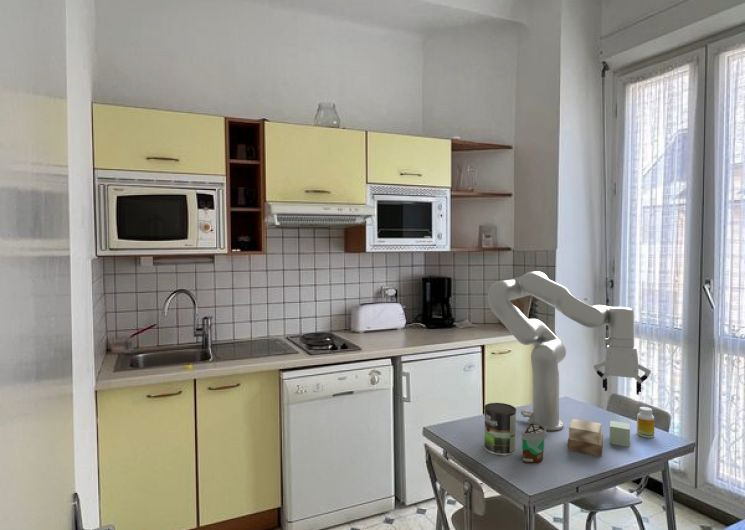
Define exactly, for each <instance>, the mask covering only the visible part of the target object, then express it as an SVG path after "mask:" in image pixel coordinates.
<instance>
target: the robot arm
mask: <svg viewBox="0 0 745 530" xmlns="http://www.w3.org/2000/svg"><path fill="white" fill-rule="evenodd" d="M528 296H529V297H530V296H532V297H533V298H535V299H538V300H540V301H542V302H544V303H546V304H547V305H549V306H551V307H553V308H555V309H556V310H557V311H558V312H560V313H561V314H562V315H563V316H565V317H566V318H569V319H571V320H572V321H573V322H576V323H578V324H580V325H582V326H584V327H586V328H589V329H594V330H595V329H599V328H601V327H604V326H608V338H606V337H605V338H604V343H607V344H608V345H606V349H605V353H604V354H605V355H604V360H603V361H602V362H599V363H596V364H594V365H593V369H594V371H595V372H596V374H597V375H598V376H599V377H600V378H601V379H602V388H603V389H604V392H607V391H608V377H609V376H612V377H621V378H629V379H631V378H632V379H634V380H636V383H635V384H636V388H635V390H636V392H635V393H636V395H637V396H640V393H641V392H642V383H643V382H644V381H646V380H647V379H648V377H649V376H650V375H651V373H652V371H651V370H650V369H649V368H647V367H645V366H643V365H641V364H639V356H638V355H639V354H638V350H637V347H636V346H635V344H634V343H635V335H634V330H635V329H634V328H635V325H634V321H635V320H634V317H635V316H634V310H633V309H632V308H631V307H627V306H608V305H603V304H595V305H590V304H588V303H586V302H584V301H583V300H580V299H578V298H577V297H575V296H574V295H573V294H571V293H570V290H569V289H568V288H567V287H566V286H564V285H562V284H560V283H557V282H555V281H554V280H551V279H549V277H548V276H547V275H546V274H545V273H544V272H542V271H538V270H537V271H536V270H535V271H529V272H525V273H524V274H523V275H521V276H517V277H513V278H510V279H509V278H508V279H501V280H498V281H496V282H494V283H493V284H491V286H490V288H488V292H487V303H488V304H487V305H488V306H489V309H490V310H491V312H492V313H493V314H494V316H496V317H497V319H498V320H500V322H501V323H502V325H504V327H505V328H506V329H507V330H508V331H509V333H511V335H512V336H513V337H514V338H515V339H516V340H517V341H518V342H519V344H521V345H523V346H530V345H533V348H532V351H531V354H530V361H531V362H530V363H531V369H532V370H531V371H532V372H531V373H532V410H526V409H521V410H520V415H521V416H522V417H525V418H528V421H527V422H528V425H530V424H531V421H533V422H537V423H539V424H541V425H543V426H544V427H545V429H546V431H560V430H562V429H563V428H564V422H563V420H560V374H559V373H560V371H559V363H561V362H562V361H563V360H564V359H565V358H566V354H567V349H566V346H565V345H564V343H563V342H562V341H561V340H560V339H559V337H558V336H557V335H556V334H555V333H554V332H553V331H552V330H551V329H550V328H549V327H548V326H547V325H546V324H545V323H544V322H543V321H541V320H539V319H537V318H534V317H533V318H528V317H527V316H526V315H525V314H524V313H523V312H522V310H520V309H519V308H518V307H517V306H516V305H514V304H513V302H511V301H513V300H514V301H515V300H517V299H518V300H519V299H521V298H525V297H528ZM602 367H604V372H602V370H600V369H601V368H602ZM639 370H640V371H642V372H644V374H643V375H642V376H641V377H640V375H639Z"/></svg>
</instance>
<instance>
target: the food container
mask: <svg viewBox="0 0 745 530" xmlns="http://www.w3.org/2000/svg"><path fill="white" fill-rule="evenodd" d="M547 437H548V433H547V430H546V429H545V427H544V426H543V425H541V424H539V423H537V422H533V421H531V424H529V426H527V428H526V429H525V431H524V432H521V440H522V441H521V443H522V447H521V448H522V463H523V464H529V465H536V464H540V463H542V462H543V461H544V449H545V439H546V438H547Z"/></svg>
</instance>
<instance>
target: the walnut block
mask: <svg viewBox="0 0 745 530" xmlns="http://www.w3.org/2000/svg"><path fill="white" fill-rule="evenodd" d="M603 438H604V435H603V434H601V438H600V442H599V445H597V444H592V443H587V442H581V441H576V440H571V439H569V437H568V439H567V451H568V452H574V453H580V454H584V455H588V456H589V455H590V456H595V457H602V455H603V447H604V439H603Z"/></svg>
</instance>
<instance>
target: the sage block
mask: <svg viewBox="0 0 745 530" xmlns="http://www.w3.org/2000/svg"><path fill="white" fill-rule="evenodd" d="M630 434H631V424H630V423H627V422H622V421H621V422H620V421H615V420H610V421H609V444H612V445H617V446H622V447H629V448H630V446H631V444H630V442H631V440H630V439H631V435H630Z"/></svg>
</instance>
